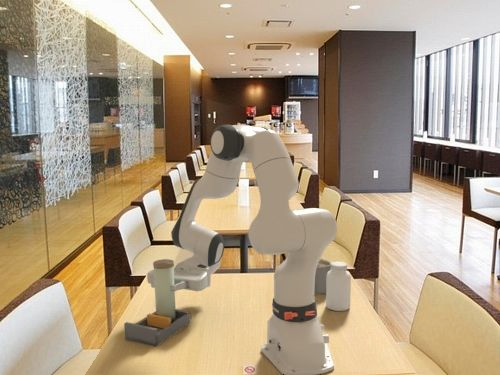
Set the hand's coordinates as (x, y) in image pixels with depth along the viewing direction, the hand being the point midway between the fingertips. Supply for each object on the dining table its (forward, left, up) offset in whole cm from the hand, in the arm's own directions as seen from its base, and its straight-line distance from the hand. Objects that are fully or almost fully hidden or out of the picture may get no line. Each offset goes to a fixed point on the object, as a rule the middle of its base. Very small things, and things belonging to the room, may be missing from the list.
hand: (162, 287), depth 157 cm
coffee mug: (+20, -57, -13) cm, 62 cm away
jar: (+1, -1, -10) cm, 11 cm away
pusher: (-2, +2, -12) cm, 12 cm away
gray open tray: (-2, +2, -13) cm, 13 cm away
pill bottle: (+3, -57, -13) cm, 59 cm away
